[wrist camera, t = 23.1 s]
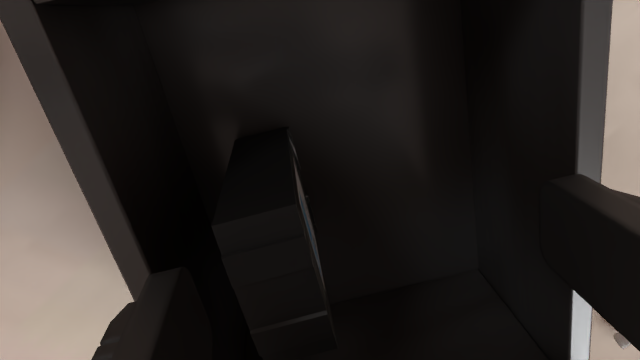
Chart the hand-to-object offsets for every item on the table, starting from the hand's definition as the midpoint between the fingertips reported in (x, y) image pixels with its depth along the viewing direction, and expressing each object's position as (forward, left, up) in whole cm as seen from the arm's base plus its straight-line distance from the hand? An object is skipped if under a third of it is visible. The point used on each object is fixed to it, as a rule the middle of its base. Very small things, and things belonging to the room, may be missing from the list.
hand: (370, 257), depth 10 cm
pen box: (0, -1, -10) cm, 10 cm away
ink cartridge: (-2, -1, -9) cm, 10 cm away
